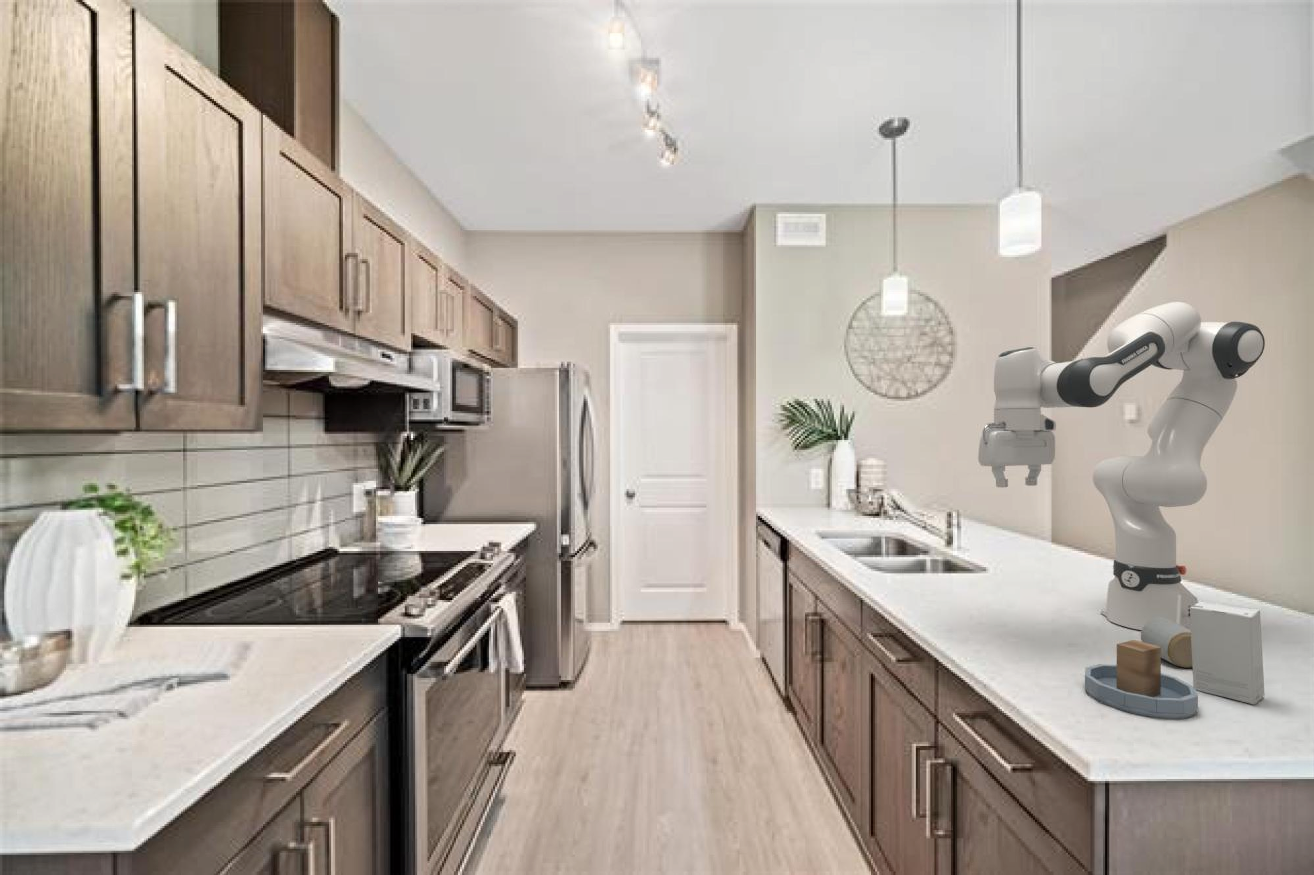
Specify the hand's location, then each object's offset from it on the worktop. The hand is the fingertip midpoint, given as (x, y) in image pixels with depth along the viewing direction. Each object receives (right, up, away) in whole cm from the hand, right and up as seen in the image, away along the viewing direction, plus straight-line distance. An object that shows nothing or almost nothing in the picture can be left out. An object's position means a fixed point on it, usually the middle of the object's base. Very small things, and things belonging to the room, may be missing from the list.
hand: (1016, 486), depth 134 cm
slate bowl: (+3, -33, -30) cm, 45 cm away
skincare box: (+20, -34, -28) cm, 48 cm away
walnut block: (+3, -32, -30) cm, 44 cm away
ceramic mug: (+24, -34, -14) cm, 43 cm away
